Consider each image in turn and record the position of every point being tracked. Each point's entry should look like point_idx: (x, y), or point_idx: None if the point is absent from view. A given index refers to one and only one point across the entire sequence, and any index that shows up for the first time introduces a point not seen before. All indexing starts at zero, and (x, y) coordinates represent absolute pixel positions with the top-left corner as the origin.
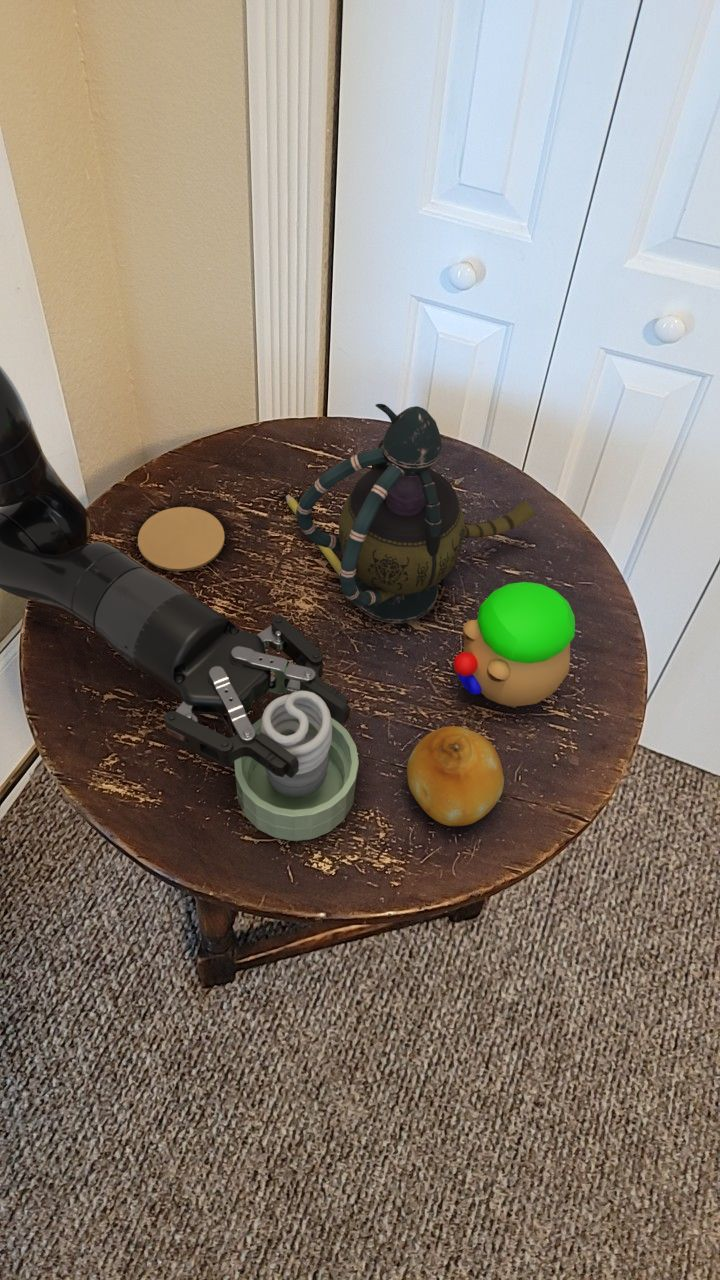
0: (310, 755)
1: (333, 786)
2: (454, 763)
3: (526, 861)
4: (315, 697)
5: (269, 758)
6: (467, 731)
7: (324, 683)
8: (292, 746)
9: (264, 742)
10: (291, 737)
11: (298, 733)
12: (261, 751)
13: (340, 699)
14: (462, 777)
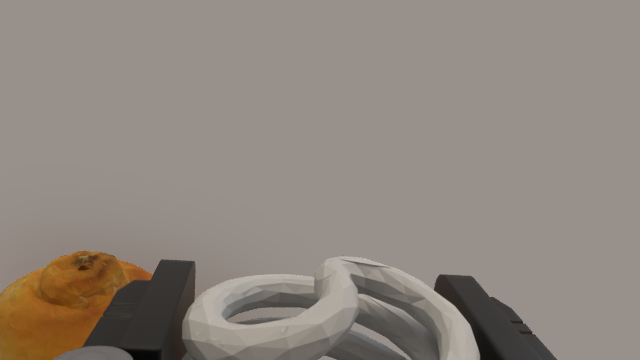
0: (362, 334)
1: None
2: (120, 264)
3: None
4: (208, 303)
5: (518, 327)
6: (7, 291)
7: (94, 342)
8: (410, 327)
9: (514, 338)
10: (417, 282)
11: (389, 270)
12: (535, 349)
13: (158, 270)
14: (135, 268)
